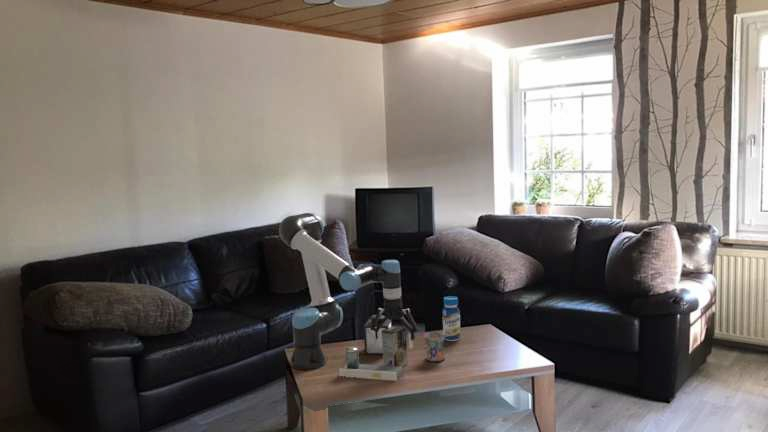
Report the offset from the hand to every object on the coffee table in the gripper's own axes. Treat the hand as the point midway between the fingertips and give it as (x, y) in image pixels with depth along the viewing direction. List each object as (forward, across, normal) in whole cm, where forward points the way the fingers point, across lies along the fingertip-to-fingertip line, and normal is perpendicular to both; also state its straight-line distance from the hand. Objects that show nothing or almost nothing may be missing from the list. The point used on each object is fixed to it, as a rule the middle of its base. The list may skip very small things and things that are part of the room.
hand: (395, 347), depth 256 cm
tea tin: (+6, -16, -10) cm, 20 cm away
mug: (+9, +13, +13) cm, 20 cm away
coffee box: (+8, 0, 0) cm, 9 cm away
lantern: (+8, -14, +18) cm, 24 cm away
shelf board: (+8, -8, -10) cm, 15 cm away
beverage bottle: (+9, +16, +41) cm, 44 cm away
